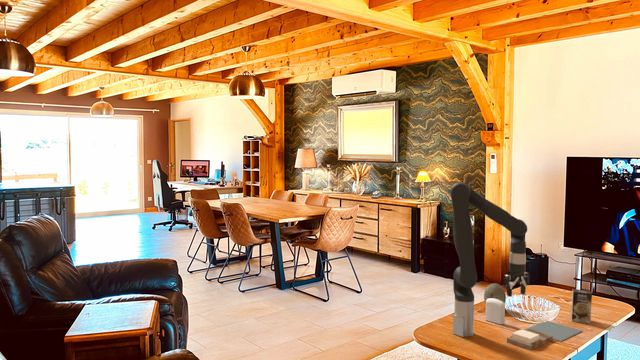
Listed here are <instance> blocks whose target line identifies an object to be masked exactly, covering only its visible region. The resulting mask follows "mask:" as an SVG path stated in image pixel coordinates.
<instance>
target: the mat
mask: <svg viewBox="0 0 640 360" xmlns="http://www.w3.org/2000/svg"><path fill="white" fill-rule="evenodd" d="M545 321H546V320H545ZM528 329H532V330H535V331H538V332H542V333H545V334H548V335H551V336H553V340H554V341H558V342H560V343H562V342H563V341H565V340H567V339H569V338H571V337H574V336H576V335H578V334H580V333H582V332H583V330H581V329H578V328H575V327H572V326H569V325H564V324H562V323H561V324H560V323H558V322H554V321H550V320H547V321H546V322H543V321H541V322H538V323H536V324H534V325H531V326H529V327H526V328H524V329H523V330H528Z"/></svg>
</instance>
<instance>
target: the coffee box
mask: <svg viewBox="0 0 640 360" xmlns="http://www.w3.org/2000/svg"><path fill="white" fill-rule="evenodd" d="M571 291H572V293H571V295H572V296H571V309H570V320H571V322H575V323H583V324H585V323H586V324H591V318H592V317H591V316H592V315H591V314H592V302H593V299H592V298H593V294H592V291H591V290H585V289H575V288H572V290H571Z"/></svg>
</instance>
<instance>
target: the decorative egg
mask: <svg viewBox="0 0 640 360" xmlns="http://www.w3.org/2000/svg"><path fill="white" fill-rule="evenodd" d="M489 298H494V299H498V300H500V301H502V302H504V303H506V293H505V289H504V287H503V286H501V284H499V283H496V282H494V283H493V282H492V283H490V284H488V285H487V286H486V287H485V289H484V292H483V301H484V304H485V305H486V300H487V299H489Z"/></svg>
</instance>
